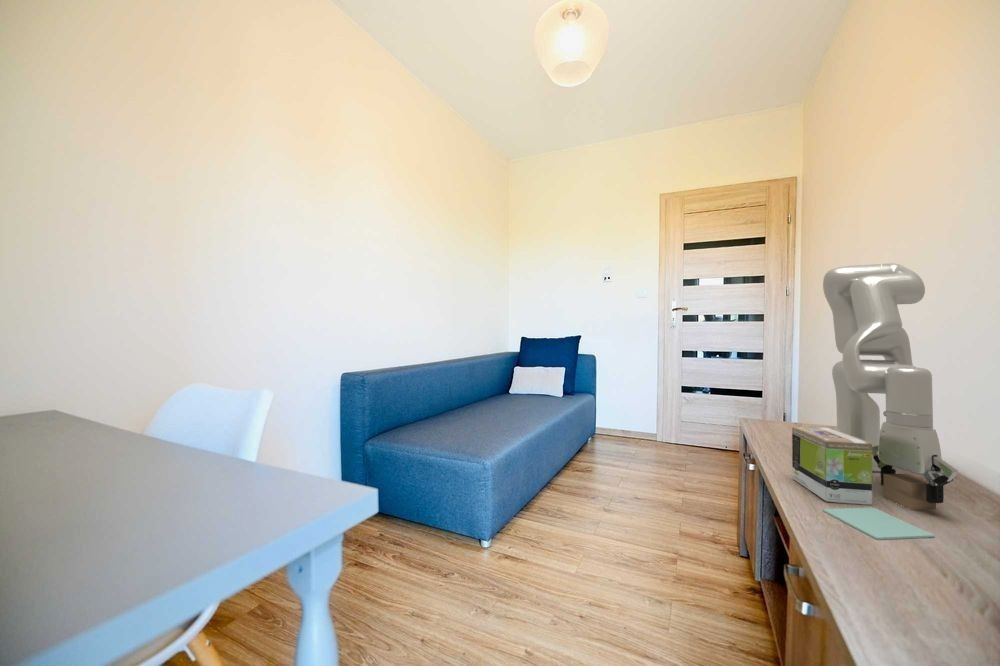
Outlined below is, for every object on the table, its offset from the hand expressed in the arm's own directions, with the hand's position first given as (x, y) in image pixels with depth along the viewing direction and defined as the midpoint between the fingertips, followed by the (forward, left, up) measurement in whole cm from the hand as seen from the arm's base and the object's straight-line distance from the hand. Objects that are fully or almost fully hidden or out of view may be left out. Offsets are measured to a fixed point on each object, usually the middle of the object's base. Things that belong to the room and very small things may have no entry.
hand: (910, 493), depth 89 cm
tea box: (+12, -9, -3) cm, 15 cm away
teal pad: (+17, +7, -3) cm, 18 cm away
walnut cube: (0, -1, -3) cm, 3 cm away
